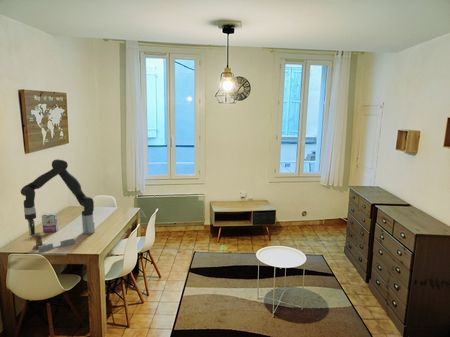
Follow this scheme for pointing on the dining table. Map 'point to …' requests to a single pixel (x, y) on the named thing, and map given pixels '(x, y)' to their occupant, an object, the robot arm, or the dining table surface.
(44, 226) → the candy bar box
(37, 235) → the bobbin
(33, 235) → the tab
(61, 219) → the dining table surface
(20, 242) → the dining table surface
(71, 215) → the dining table surface
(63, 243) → the notch board
